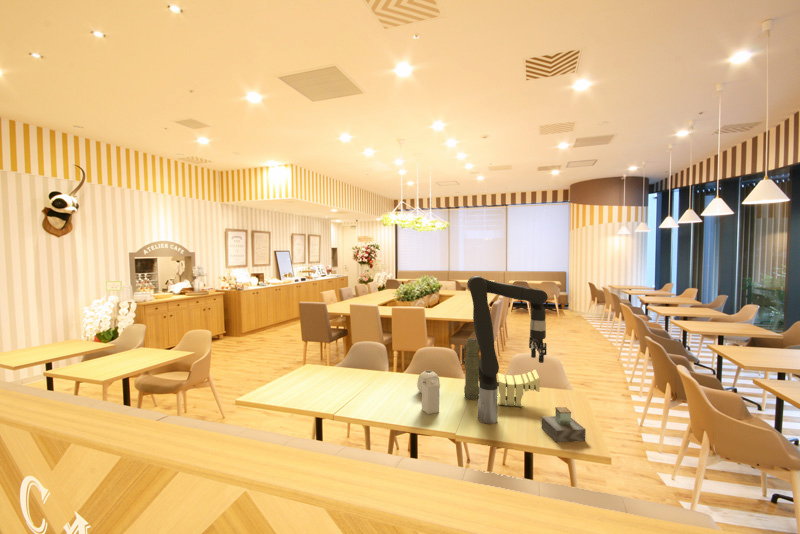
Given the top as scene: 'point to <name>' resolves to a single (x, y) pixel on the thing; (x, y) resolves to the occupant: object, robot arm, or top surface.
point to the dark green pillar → (471, 369)
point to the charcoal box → (563, 430)
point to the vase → (422, 378)
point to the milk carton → (430, 395)
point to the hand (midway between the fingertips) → (537, 360)
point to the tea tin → (563, 416)
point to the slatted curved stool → (516, 387)
